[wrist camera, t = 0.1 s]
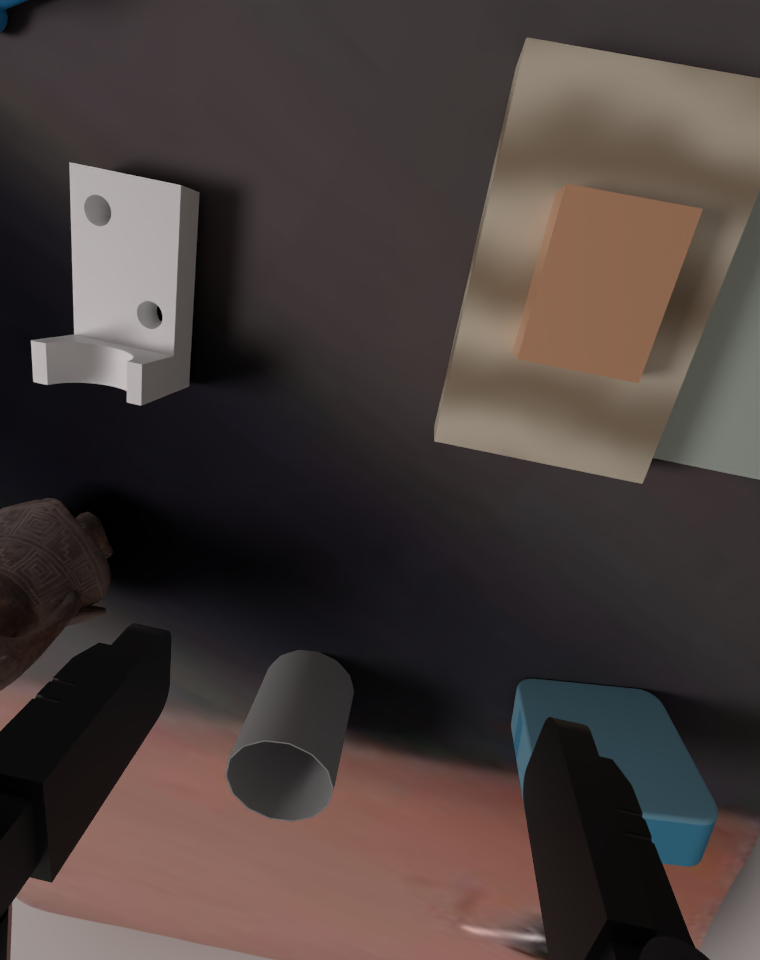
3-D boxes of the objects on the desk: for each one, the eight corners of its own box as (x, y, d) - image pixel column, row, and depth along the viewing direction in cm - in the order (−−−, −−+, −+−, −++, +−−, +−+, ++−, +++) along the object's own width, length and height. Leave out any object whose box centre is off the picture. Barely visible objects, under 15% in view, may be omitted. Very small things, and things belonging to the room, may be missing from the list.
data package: (508, 714, 47) (530, 848, 36) (514, 675, 45) (539, 802, 34) (644, 728, 46) (711, 871, 35) (656, 689, 44) (729, 825, 33)
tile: (555, 191, 29) (566, 183, 26) (681, 215, 28) (703, 208, 26) (511, 353, 32) (517, 359, 30) (624, 376, 32) (638, 383, 29)
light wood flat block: (515, 68, 30) (526, 37, 26) (755, 110, 30) (801, 85, 26) (434, 425, 38) (434, 441, 34) (622, 464, 38) (642, 483, 34)
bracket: (194, 384, 39) (141, 405, 32) (105, 364, 40) (33, 381, 33) (205, 194, 35) (145, 171, 28) (104, 174, 35) (19, 145, 28)
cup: (341, 731, 50) (319, 833, 41) (260, 707, 50) (219, 804, 41) (362, 664, 47) (343, 758, 37) (275, 639, 47) (235, 727, 37)
